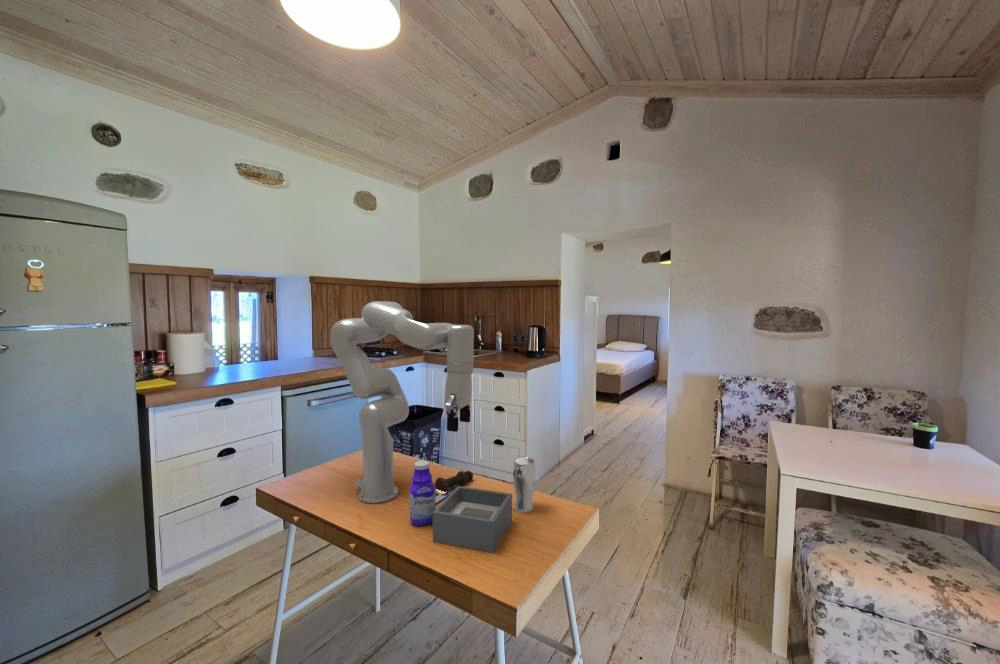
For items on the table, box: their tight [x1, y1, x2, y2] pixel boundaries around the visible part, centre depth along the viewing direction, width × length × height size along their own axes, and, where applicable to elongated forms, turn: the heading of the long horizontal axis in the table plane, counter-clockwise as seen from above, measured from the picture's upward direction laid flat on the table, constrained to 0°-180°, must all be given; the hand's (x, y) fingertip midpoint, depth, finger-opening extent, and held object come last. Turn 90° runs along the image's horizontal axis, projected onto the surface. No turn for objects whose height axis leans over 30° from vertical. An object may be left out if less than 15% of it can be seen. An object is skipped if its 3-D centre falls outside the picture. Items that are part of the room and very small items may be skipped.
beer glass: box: [512, 456, 537, 514], centre depth 129 cm, size 7×7×15 cm
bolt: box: [434, 470, 474, 492], centre depth 145 cm, size 6×5×15 cm
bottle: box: [409, 460, 436, 527], centre depth 121 cm, size 7×6×17 cm
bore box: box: [432, 485, 513, 554], centre depth 116 cm, size 17×17×8 cm
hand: (458, 426), depth 121 cm, fingers open, 9 cm apart
